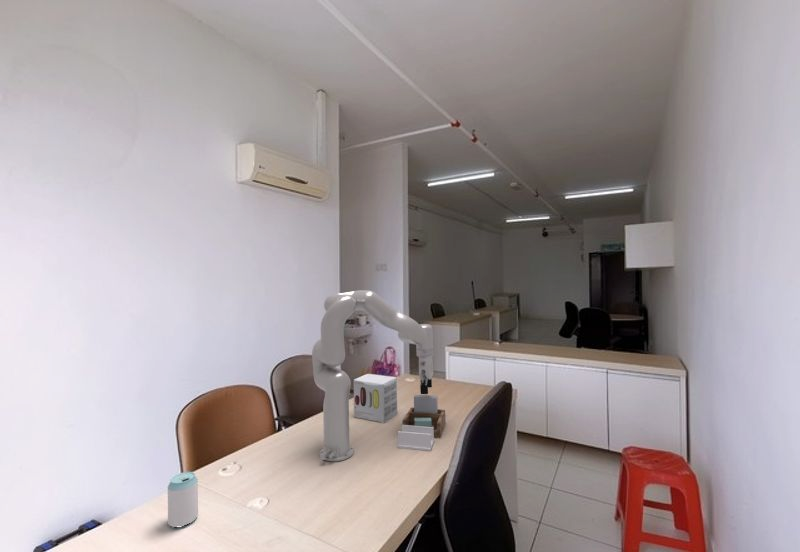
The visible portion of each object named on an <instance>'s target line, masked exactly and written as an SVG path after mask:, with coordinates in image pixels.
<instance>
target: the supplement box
mask: <svg viewBox="0 0 800 552" xmlns="http://www.w3.org/2000/svg"><path fill="white" fill-rule="evenodd" d="M397 379H398V378H397V376H391V375H390V376H389V375H382V374H375V373H374V374H373V373H366V374H364V375H362V376H359V377H357V378H355V379H353V418H358V419H363V420H368V421H372V422H376V423H382V424H385V423H387V422H388V421H389V420H390V419H393V418H394V417H396V416H397V415H398V387H397V385H398V384H397Z"/></svg>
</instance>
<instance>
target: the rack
mask: <svg viewBox="0 0 800 552" xmlns="http://www.w3.org/2000/svg"><path fill="white" fill-rule="evenodd" d="M414 418H431V421H432V425H433V426H434V439H441V437H442V433H443V431H444V428H445V426H446V410H445V409H441V408H438V414H434V413H420V412H414V407H410V409H409V410H408V411H407V413H406V414H405V415H404V417H403V419H402V420H401V421H402V425H410V426H413V425H415V420H414Z"/></svg>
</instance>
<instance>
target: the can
mask: <svg viewBox="0 0 800 552" xmlns="http://www.w3.org/2000/svg"><path fill="white" fill-rule="evenodd" d="M198 480H199V479H198V477H197V476H196V473H195V472H193V471H184V472H180V473H178V474H175V475H174V476H172V477H171V479H170V482H169V484H168V486H167V525H168V524H169V525H170V526H173V527H172V528H174V527H177V526H183V525H186V524H189V523H190V524H192V523H193V522H194V521H195V520H196V519H197V518H198V515H199V490H198V489H199V487H198V486H199V485H198V484H199V481H198ZM192 521H193V522H192ZM191 522H192V523H191ZM190 524H189V525H190ZM169 525H168V526H169ZM170 526H169V527H170Z"/></svg>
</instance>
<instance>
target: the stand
mask: <svg viewBox="0 0 800 552" xmlns="http://www.w3.org/2000/svg"><path fill="white" fill-rule="evenodd" d="M434 431H435V429H434V427H422V426H410V425H403V424H402V425H401V430H400V431H397V445H396V446H397V447H396V448H397V449H404V450H415V451H422V452H423V451H424V452H426V451H427V452H432V448H433V445H434V443H435V438H434Z"/></svg>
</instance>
